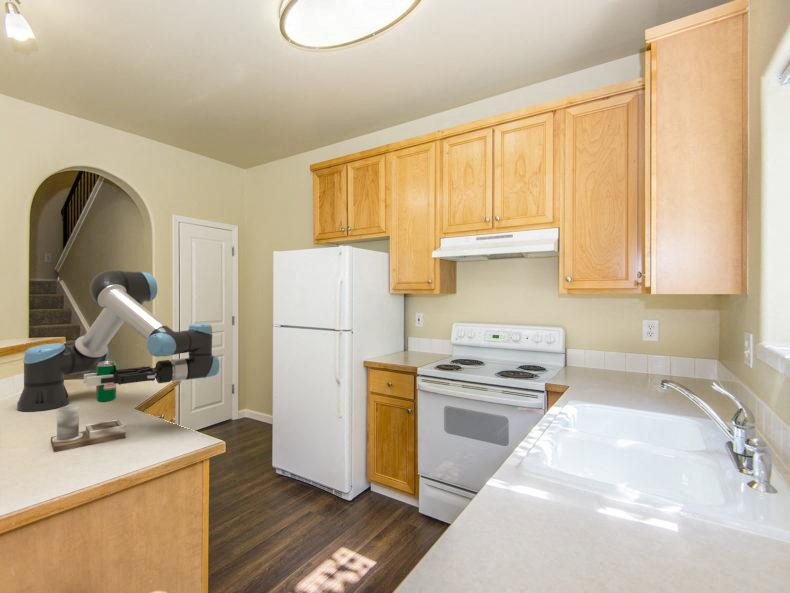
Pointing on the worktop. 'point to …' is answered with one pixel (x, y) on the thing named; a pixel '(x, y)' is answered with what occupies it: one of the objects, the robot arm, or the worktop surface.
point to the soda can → (109, 390)
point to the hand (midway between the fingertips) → (85, 380)
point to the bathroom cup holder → (94, 432)
